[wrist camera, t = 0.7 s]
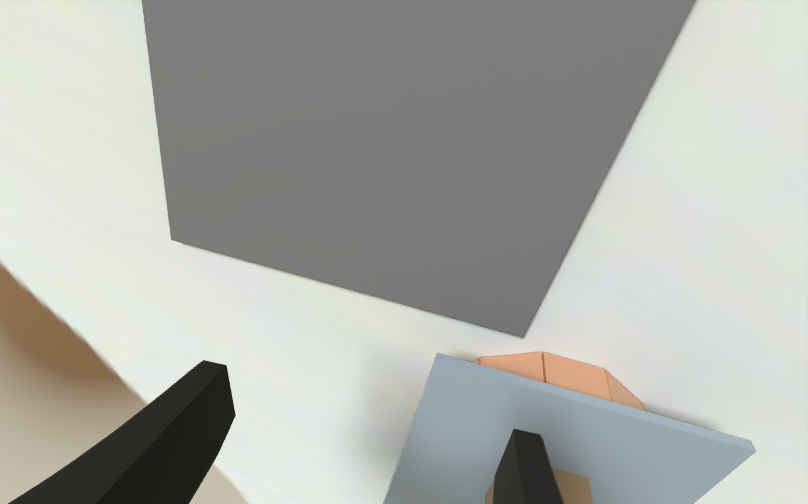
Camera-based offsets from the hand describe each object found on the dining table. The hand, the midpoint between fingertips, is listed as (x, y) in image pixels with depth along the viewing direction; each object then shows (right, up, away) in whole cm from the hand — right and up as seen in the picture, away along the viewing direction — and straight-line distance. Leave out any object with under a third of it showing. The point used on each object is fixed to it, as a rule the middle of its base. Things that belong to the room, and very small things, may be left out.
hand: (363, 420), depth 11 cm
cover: (+8, -8, +12) cm, 17 cm away
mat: (0, +10, +6) cm, 12 cm away
